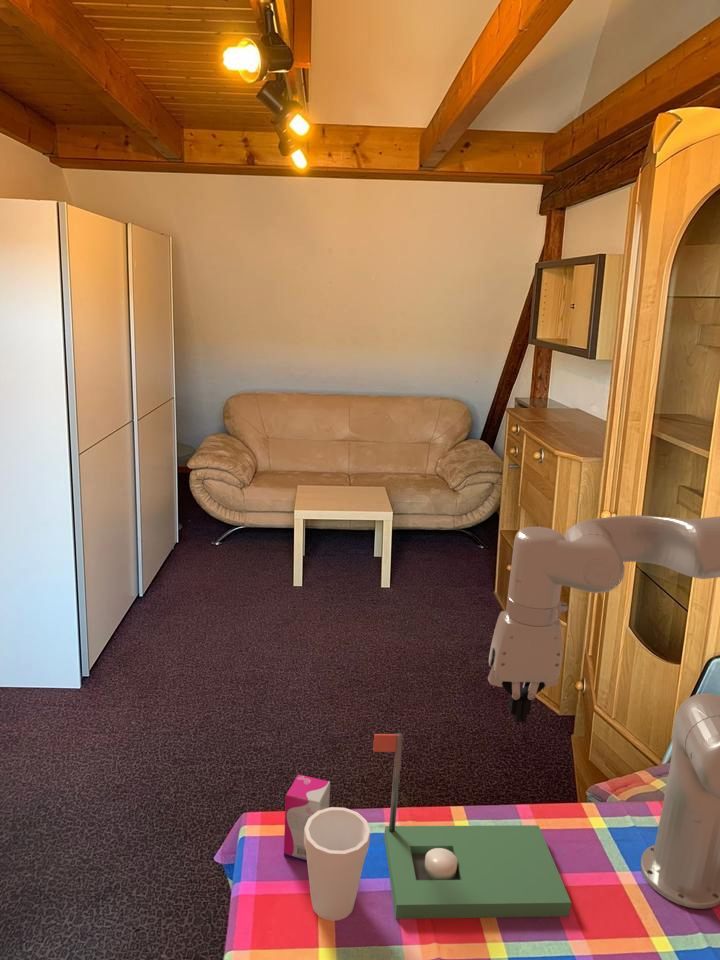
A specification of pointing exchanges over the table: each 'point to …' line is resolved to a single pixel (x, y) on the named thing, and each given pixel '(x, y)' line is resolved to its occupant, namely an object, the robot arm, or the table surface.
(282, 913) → the table surface
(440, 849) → the cream rounded stone
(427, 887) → the putting mat
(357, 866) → the foam cup
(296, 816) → the supplement box
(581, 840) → the table surface
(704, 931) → the table surface
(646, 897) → the table surface
